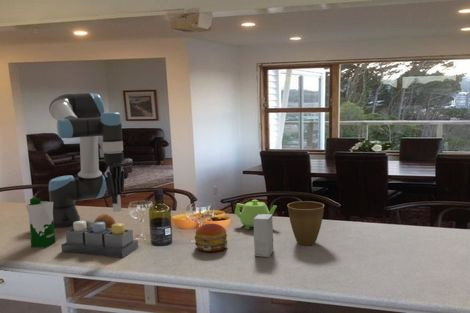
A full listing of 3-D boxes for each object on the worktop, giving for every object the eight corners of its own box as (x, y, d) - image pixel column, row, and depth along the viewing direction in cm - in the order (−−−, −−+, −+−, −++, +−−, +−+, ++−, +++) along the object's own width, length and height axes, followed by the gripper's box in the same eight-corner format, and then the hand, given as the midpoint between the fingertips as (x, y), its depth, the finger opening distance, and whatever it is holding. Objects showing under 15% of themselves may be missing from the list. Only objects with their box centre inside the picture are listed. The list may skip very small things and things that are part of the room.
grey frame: (80, 242, 190) (79, 224, 189) (138, 247, 181) (137, 228, 180) (61, 251, 178) (60, 232, 177) (122, 257, 170) (121, 237, 169)
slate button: (97, 233, 182) (96, 221, 181) (108, 234, 181) (107, 222, 180) (90, 236, 177) (89, 224, 177) (101, 237, 176) (100, 225, 175)
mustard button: (116, 234, 180) (115, 222, 179) (127, 235, 178) (126, 223, 177) (109, 238, 175) (109, 226, 174) (120, 239, 173) (120, 227, 173)
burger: (189, 252, 174) (188, 227, 173) (203, 241, 187) (202, 218, 186) (220, 255, 170) (219, 230, 168) (232, 244, 182) (232, 221, 181)
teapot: (279, 223, 211) (278, 197, 209) (274, 231, 198) (274, 204, 196) (238, 221, 215) (237, 196, 214) (231, 229, 203) (230, 202, 201)
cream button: (79, 231, 185) (78, 220, 184) (89, 232, 183) (88, 220, 183) (71, 235, 180) (70, 223, 179) (81, 236, 179) (81, 224, 178)
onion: (89, 236, 198) (87, 214, 197) (109, 230, 205) (107, 209, 204) (100, 240, 192) (99, 218, 190) (120, 234, 199) (119, 213, 198)
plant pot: (331, 241, 182) (331, 204, 180) (311, 251, 171) (311, 211, 169) (301, 234, 192) (300, 198, 190) (280, 243, 182) (280, 205, 179)
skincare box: (269, 257, 166) (268, 219, 164) (253, 256, 168) (252, 218, 166) (273, 250, 174) (273, 213, 172) (259, 249, 176) (258, 212, 174)
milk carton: (40, 240, 193) (36, 196, 191) (59, 241, 191) (55, 196, 189) (27, 247, 185) (23, 201, 182) (46, 248, 183) (42, 201, 180)
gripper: (114, 150, 179) (117, 206, 182) (95, 154, 167) (99, 214, 170) (130, 150, 177) (134, 207, 180) (112, 154, 164) (116, 215, 167)
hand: (117, 211), depth 175 cm, fingers closed
